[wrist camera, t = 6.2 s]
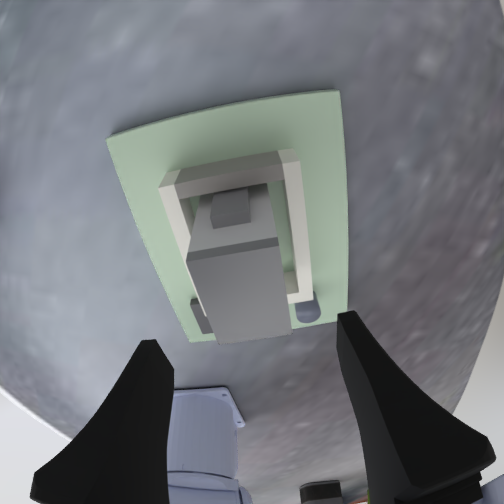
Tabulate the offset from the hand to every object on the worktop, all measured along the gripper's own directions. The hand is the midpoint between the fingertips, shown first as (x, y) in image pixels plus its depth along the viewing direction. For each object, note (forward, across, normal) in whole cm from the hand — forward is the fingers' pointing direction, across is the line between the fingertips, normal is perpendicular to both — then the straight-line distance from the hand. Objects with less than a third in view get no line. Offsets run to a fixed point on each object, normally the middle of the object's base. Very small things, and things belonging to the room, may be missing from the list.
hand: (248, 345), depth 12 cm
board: (+9, 0, +1) cm, 9 cm away
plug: (+8, 0, 0) cm, 8 cm away
